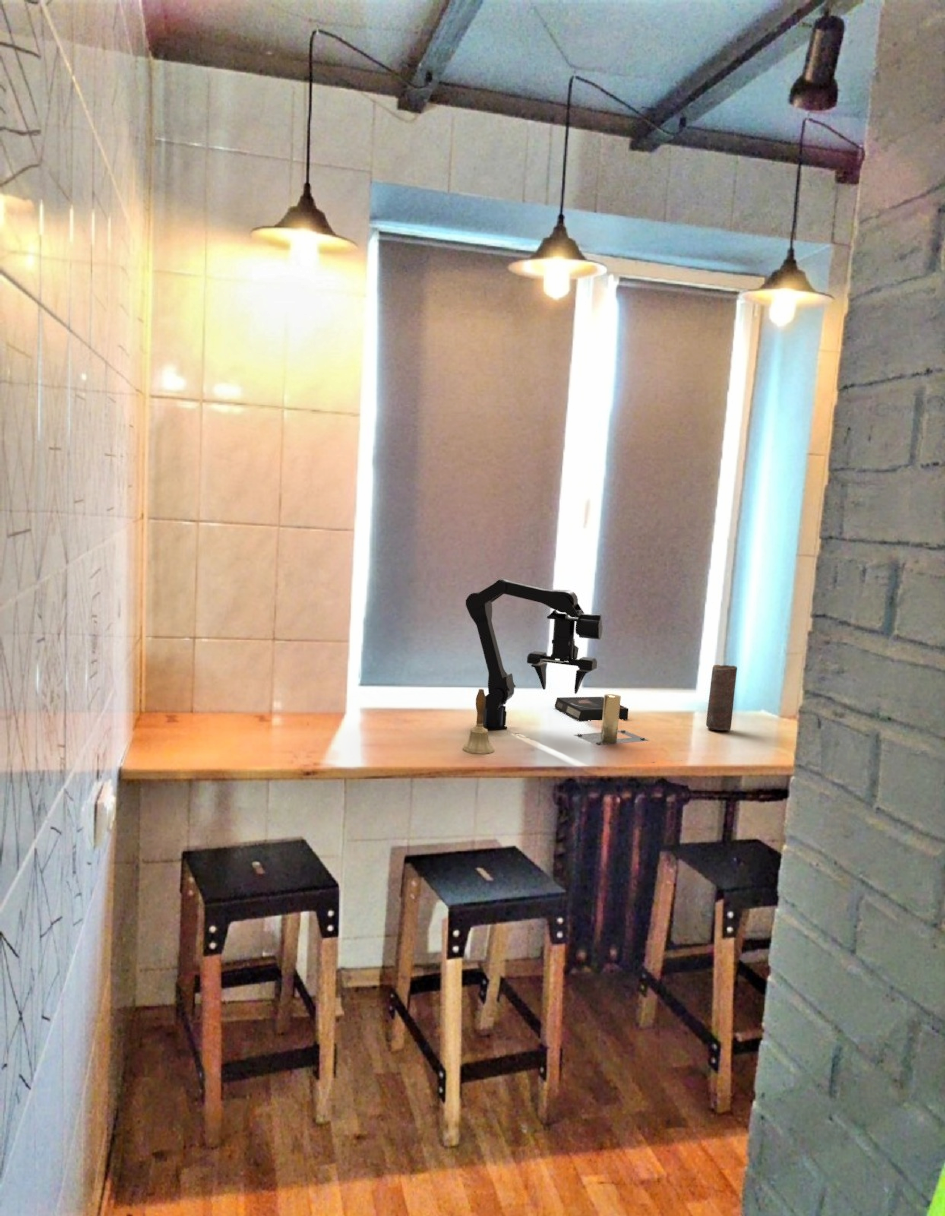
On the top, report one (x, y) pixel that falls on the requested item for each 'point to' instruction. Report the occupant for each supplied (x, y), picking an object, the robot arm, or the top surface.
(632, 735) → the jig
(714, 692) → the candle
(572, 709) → the portable cd player
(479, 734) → the hand bell
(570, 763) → the top surface
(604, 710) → the disc
